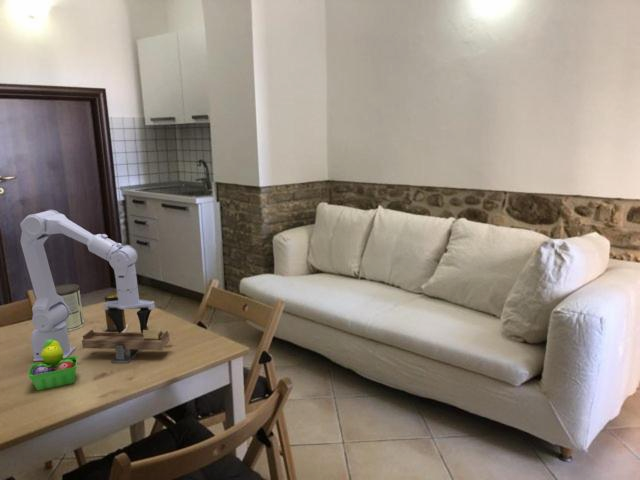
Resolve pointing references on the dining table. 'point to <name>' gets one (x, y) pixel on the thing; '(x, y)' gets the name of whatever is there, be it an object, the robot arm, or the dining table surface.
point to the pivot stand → (124, 354)
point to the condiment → (110, 323)
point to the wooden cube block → (153, 332)
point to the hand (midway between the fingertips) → (132, 331)
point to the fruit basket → (53, 367)
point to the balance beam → (123, 340)
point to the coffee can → (72, 305)
